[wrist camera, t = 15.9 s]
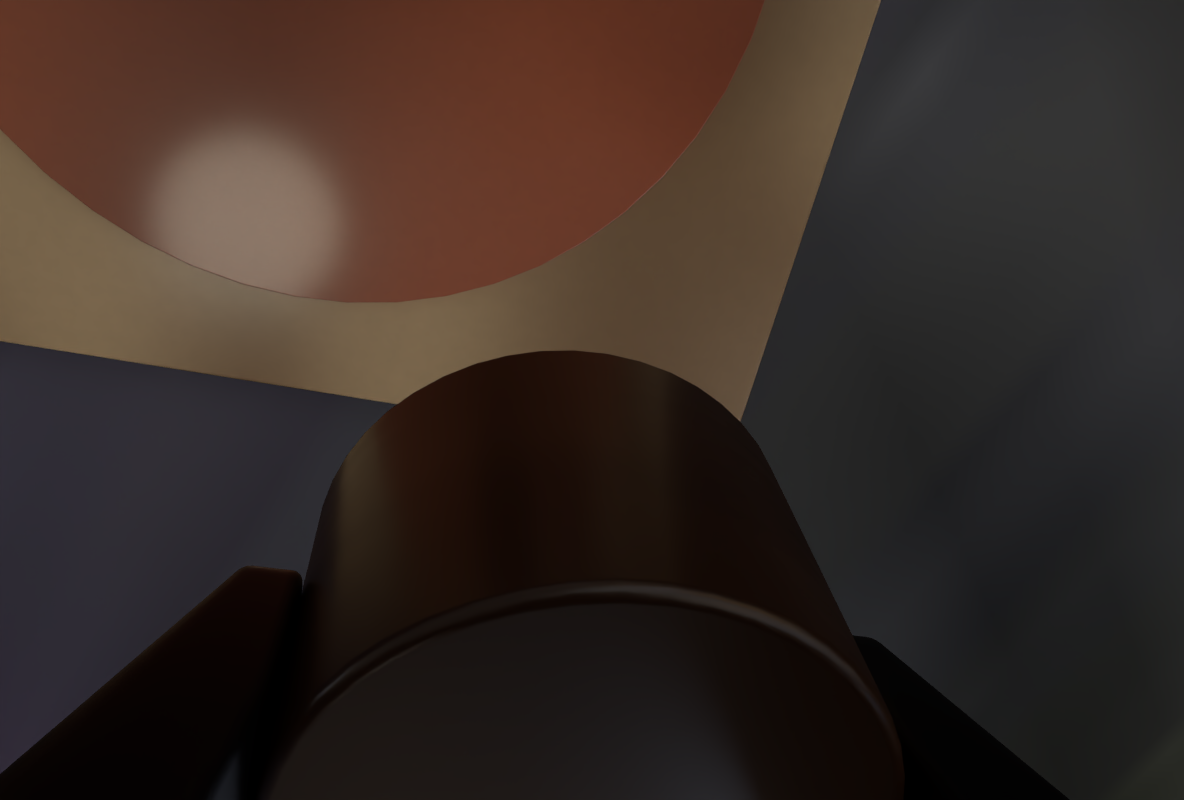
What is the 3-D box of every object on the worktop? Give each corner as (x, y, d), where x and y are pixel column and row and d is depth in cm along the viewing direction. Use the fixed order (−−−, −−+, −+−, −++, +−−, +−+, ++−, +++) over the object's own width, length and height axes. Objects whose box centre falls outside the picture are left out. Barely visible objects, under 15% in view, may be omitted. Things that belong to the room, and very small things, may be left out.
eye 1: (843, 387, 8) (1016, 633, 6) (709, 741, 10) (793, 1054, 7) (346, 305, 7) (275, 543, 5) (295, 703, 9) (225, 1038, 7)
